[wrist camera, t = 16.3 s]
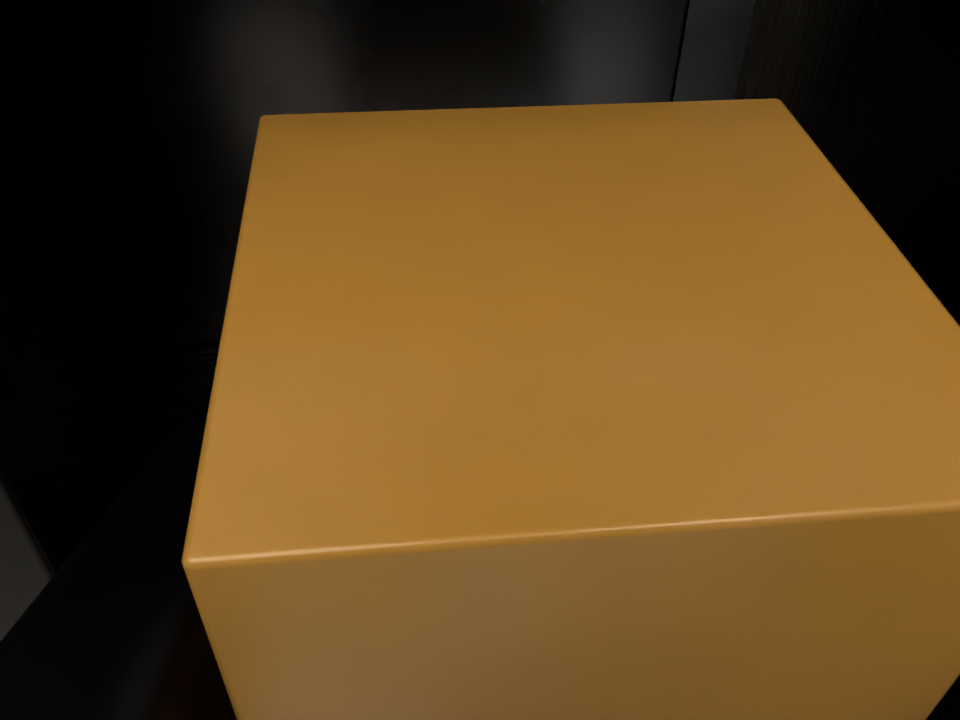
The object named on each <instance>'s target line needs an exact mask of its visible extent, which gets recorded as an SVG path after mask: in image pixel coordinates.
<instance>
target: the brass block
mask: <svg viewBox="0 0 960 720" xmlns="http://www.w3.org/2000/svg"><path fill="white" fill-rule="evenodd" d="M181 562H182V565H183V568H184V571H185V573H186V576H187V579H188V582H189V585H190V588H191V590H192V593H193V596H194V599H195V602H196V605H197V607H198V610H199V613H200V616H201V619H202V622H203V624H204V627H205V630H206V633H207V636H208V639H209V641H210V644H211V647H212V650H213V653H214V656H215V658H216V661H217V664H218V667H219V670H220V673H221V675H222V678H223V681H224V684H225V687H226V690H227V692H228V695H229V698H230V701H231V704H232V707H233V709H234V712H235V715H236V718H237V720H926V719H927V718H928V717H929V715H930V714H931V713H932V711H933V710H934V709H935V707H936V706H937V705H938V703H939V702H940V701H941V699H942V698H943V697H944V695H945V694H946V693H947V691H948V690H949V688H950V687H951V686H952V684H953V683H954V682H955V680H956V679H957V678H958V676H959V675H960V326H959V325H958V323H957V322H956V321H955V320H954V318H953V317H952V316H951V315H950V313H949V312H948V311H947V310H946V308H945V307H944V306H943V305H942V303H941V302H940V301H939V299H938V298H937V297H936V296H935V294H934V293H933V292H932V291H931V289H930V288H929V287H928V286H927V284H926V283H925V282H924V281H923V279H922V278H921V277H920V275H919V274H918V273H917V272H916V270H915V269H914V268H913V267H912V265H911V264H910V263H909V262H908V260H907V259H906V258H905V257H904V255H903V254H902V253H901V251H900V250H899V249H898V248H897V246H896V245H895V244H894V243H893V241H892V240H891V239H890V238H889V236H888V235H887V234H886V233H885V231H884V230H883V229H882V227H881V226H880V225H879V224H878V222H877V221H876V220H875V219H874V217H873V216H872V215H871V214H870V212H869V211H868V210H867V209H866V207H865V206H864V205H863V203H862V202H861V201H860V200H859V198H858V197H857V196H856V195H855V193H854V192H853V191H852V190H851V188H850V187H849V186H848V185H847V183H846V182H845V181H844V179H843V178H842V177H841V176H840V174H839V173H838V172H837V171H836V169H835V168H834V167H833V166H832V164H831V163H830V162H829V161H828V159H827V158H826V157H825V155H824V154H823V153H822V152H821V150H820V149H819V148H818V147H817V145H816V144H815V143H814V142H813V140H812V139H811V138H810V137H809V135H808V134H807V133H806V131H805V130H804V129H803V128H802V126H801V125H800V124H799V123H798V121H797V120H796V119H795V118H794V116H793V115H792V114H791V113H790V111H789V110H788V109H787V107H786V106H785V105H784V104H783V102H782V101H781V100H779V99H776V98H769V99H738V100H707V101H676V102H645V103H615V104H584V105H553V106H522V107H491V108H460V109H429V110H398V111H367V112H336V113H306V114H275V115H263V116H261V117H260V120H259V124H258V129H257V135H256V141H255V146H254V152H253V158H252V163H251V169H250V175H249V181H248V186H247V192H246V198H245V203H244V209H243V215H242V220H241V226H240V232H239V237H238V243H237V249H236V254H235V260H234V266H233V271H232V277H231V283H230V288H229V294H228V300H227V305H226V311H225V317H224V322H223V328H222V334H221V339H220V345H219V351H218V356H217V362H216V368H215V373H214V379H213V385H212V391H211V396H210V402H209V408H208V413H207V419H206V425H205V430H204V436H203V442H202V447H201V453H200V459H199V464H198V470H197V476H196V481H195V487H194V493H193V498H192V504H191V510H190V515H189V521H188V527H187V532H186V538H185V544H184V549H183V555H182V561H181Z"/></svg>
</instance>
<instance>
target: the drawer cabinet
mask: <svg viewBox="0 0 960 720" xmlns="http://www.w3.org/2000/svg"><path fill="white" fill-rule="evenodd" d="M85 537H86V533H85V531H84V528H83V526H82V524H81V522H80V519H79V517H78V515H77V513H76V511H75V508H74V506H73V504H72V502H71V500H70V497H69V495H68V493H67V491H66V489H65V486H64V484H63V482H62V480H61V478H60V475H59V473H58V471H57V469H56V467H55V464H54V462H53V460H52V458H51V456H50V453H49V451H48V449H47V447H46V444H45V442H44V440H43V438H42V436H41V433H40V431H39V429H38V427H37V425H36V422H35V420H34V418H33V416H32V414H31V411H30V409H29V407H28V405H27V403H26V400H25V398H24V396H23V394H22V392H21V389H20V387H19V385H18V383H17V381H16V378H15V376H14V374H13V372H12V369H11V367H10V365H9V363H8V361H7V358H6V356H5V354H4V352H3V350H2V347H1V345H0V641H1V640H2V639H3V638H4V636H5V635H6V634H7V633H8V631H9V630H10V629H11V628H12V626H13V625H14V624H15V623H16V622H17V620H18V619H19V618H20V617H21V615H22V614H23V613H24V612H25V610H26V609H27V608H28V607H29V606H30V604H31V603H32V602H33V601H34V599H35V598H36V597H37V596H38V594H39V593H40V592H41V591H42V590H43V588H44V587H45V586H46V585H47V583H48V582H49V581H50V580H51V578H52V577H53V576H54V575H55V574H56V572H57V571H58V570H59V569H60V567H61V566H62V565H63V564H64V562H65V561H66V560H67V559H68V558H69V556H70V555H71V554H72V553H73V551H74V550H75V549H76V548H77V546H78V545H79V544H80V543H81V542H82V540H83V539H84V538H85Z"/></svg>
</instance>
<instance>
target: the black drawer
mask: <svg viewBox="0 0 960 720" xmlns="http://www.w3.org/2000/svg"><path fill="white" fill-rule="evenodd" d="M689 5H690V0H0V345H1V347H2V350H3V352H4V354H5V356H6V358H7V361H8V363H9V365H10V367H11V369H12V372H13V374H14V376H15V378H16V381H17V383H18V385H19V387H20V389H21V392H22V394H23V396H24V398H25V400H26V403H27V405H28V407H29V409H30V411H31V414H32V416H33V418H34V420H35V422H36V425H37V427H38V429H39V431H40V433H41V436H42V438H43V440H44V442H45V444H46V447H47V449H48V451H49V453H50V456H51V458H52V460H53V462H54V464H55V467H56V469H57V471H58V473H59V475H60V478H61V480H62V482H63V484H64V486H65V489H66V491H67V493H68V495H69V497H70V500H71V502H72V504H73V506H74V508H75V511H76V513H77V515H78V517H79V519H80V522H81V524H82V526H83V528H84V531H85V533H86V535H87V534H88V533H89V532H90V530H91V529H92V528H93V527H94V526H95V524H96V523H97V522H98V521H99V519H100V518H101V517H102V516H103V514H104V513H105V512H106V511H107V509H108V508H109V507H110V506H111V505H112V503H113V502H114V501H115V500H116V498H117V497H118V496H119V495H120V493H121V492H122V491H123V490H124V489H125V487H126V486H127V485H128V484H129V482H130V481H131V480H132V479H133V477H134V476H135V475H136V474H137V473H138V471H139V470H140V469H141V468H142V466H143V465H144V464H145V463H146V461H147V460H148V459H149V458H150V457H151V455H152V454H153V453H154V452H155V450H156V449H157V448H158V447H159V445H160V444H161V443H162V442H163V441H164V439H165V438H166V437H167V436H168V434H169V433H170V432H171V431H172V429H173V428H174V427H175V426H176V425H177V423H178V422H179V421H180V420H181V418H182V417H183V416H184V415H185V413H186V412H187V411H188V410H189V409H190V407H191V406H192V405H193V404H194V402H195V401H196V400H197V399H198V397H199V396H200V395H201V394H202V392H203V391H204V390H205V389H206V388H207V386H208V385H209V384H210V383H211V381H212V380H213V379H214V373H215V368H216V362H217V356H218V351H219V345H220V339H221V334H222V328H223V322H224V317H225V311H226V305H227V300H228V294H229V288H230V283H231V277H232V271H233V266H234V260H235V254H236V249H237V243H238V237H239V232H240V226H241V220H242V215H243V209H244V203H245V198H246V192H247V186H248V181H249V175H250V169H251V163H252V158H253V152H254V146H255V141H256V135H257V129H258V124H259V120H260V117H261V116H263V115H275V114H306V113H336V112H367V111H398V110H429V109H460V108H491V107H522V106H553V105H584V104H615V103H645V102H673V98H674V92H675V86H676V80H677V75H678V69H679V63H680V57H681V51H682V46H683V40H684V34H685V28H686V22H687V17H688V11H689ZM769 98H776V99H779V100H781V101H782V102H783V104H784V105H785V106H786V107H787V109H788V110H789V111H790V113H791V114H792V115H793V116H794V118H795V119H796V120H797V121H798V123H799V124H800V125H801V126H802V128H803V129H804V130H805V131H806V133H807V134H808V135H809V137H810V138H811V139H812V140H813V142H814V143H815V144H816V145H817V147H818V148H819V149H820V150H821V152H822V153H823V154H824V155H825V157H826V158H827V159H828V161H829V162H830V163H831V164H832V166H833V167H834V168H835V169H836V171H837V172H838V173H839V174H840V176H841V177H842V178H843V179H844V181H845V182H846V183H847V185H848V186H849V187H850V188H851V190H852V191H853V192H854V193H855V195H856V196H857V197H858V198H859V200H860V201H861V202H862V203H863V205H864V206H865V207H866V209H867V210H868V211H869V212H870V214H871V215H872V216H873V217H874V219H875V220H876V221H877V222H878V224H879V225H880V226H881V227H882V229H883V230H884V231H885V233H886V234H887V235H888V236H889V238H890V239H891V240H892V241H893V243H894V244H895V245H896V246H897V248H898V249H899V250H900V251H901V253H902V254H903V255H904V257H905V258H906V259H907V260H908V262H909V263H910V264H911V265H912V267H913V268H914V269H915V270H916V272H917V273H918V274H919V275H920V277H921V278H922V279H923V281H924V282H925V283H926V284H927V286H928V287H929V288H930V289H931V291H932V292H933V293H934V294H935V296H936V297H937V298H938V299H939V301H940V302H941V303H942V305H943V306H944V307H945V308H946V310H947V311H948V312H949V313H950V315H951V316H952V317H953V318H954V320H955V321H956V322H957V323H958V325H959V326H960V0H756V3H755V7H754V12H753V16H752V21H751V25H750V30H749V35H748V39H747V44H746V48H745V53H744V57H743V62H742V66H741V71H740V75H739V80H738V84H737V89H736V93H735V98H734V100H738V99H769Z"/></svg>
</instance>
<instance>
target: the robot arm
mask: <svg viewBox="0 0 960 720" xmlns="http://www.w3.org/2000/svg"><path fill="white" fill-rule="evenodd" d="M212 385H213V380H212V381H211V383H210V384H209V385H208V386H207V388H206V389H205V390H204V391H203V392H202V394H201V395H200V396H199V397H198V399H197V400H196V401H195V402H194V404H193V405H192V406H191V407H190V409H189V410H188V411H187V412H186V413H185V415H184V416H183V417H182V418H181V420H180V421H179V422H178V423H177V425H176V426H175V427H174V428H173V429H172V431H171V432H170V433H169V434H168V436H167V437H166V438H165V439H164V441H163V442H162V443H161V444H160V445H159V447H158V448H157V449H156V450H155V452H154V453H153V454H152V455H151V457H150V458H149V459H148V460H147V461H146V463H145V464H144V465H143V466H142V468H141V469H140V470H139V471H138V473H137V474H136V475H135V476H134V477H133V479H132V480H131V481H130V482H129V484H128V485H127V486H126V487H125V489H124V490H123V491H122V492H121V493H120V495H119V496H118V497H117V498H116V500H115V501H114V502H113V503H112V505H111V506H110V507H109V508H108V509H107V511H106V512H105V513H104V514H103V516H102V517H101V518H100V519H99V521H98V522H97V523H96V524H95V526H94V527H93V528H92V529H91V530H90V532H89V533H88V534H87V535H86V537H85V538H84V539H83V540H82V542H81V543H80V544H79V545H78V546H77V548H76V549H75V550H74V551H73V553H72V554H71V555H70V556H69V558H68V559H67V560H66V561H65V562H64V564H63V565H62V566H61V567H60V569H59V570H58V571H57V572H56V574H55V575H54V576H53V577H52V578H51V580H50V581H49V582H48V583H47V585H46V586H45V587H44V588H43V590H42V591H41V592H40V593H39V594H38V596H37V597H36V598H35V599H34V601H33V602H32V603H31V604H30V606H29V607H28V608H27V609H26V610H25V612H24V613H23V614H22V615H21V617H20V618H19V619H18V620H17V622H16V623H15V624H14V625H13V626H12V628H11V629H10V630H9V631H8V633H7V634H6V635H5V636H4V638H3V639H2V640H1V641H0V720H237V718H236V715H235V712H234V709H233V707H232V704H231V701H230V698H229V695H228V692H227V690H226V687H225V684H224V681H223V678H222V675H221V673H220V670H219V667H218V664H217V661H216V658H215V656H214V653H213V650H212V647H211V644H210V641H209V639H208V636H207V633H206V630H205V627H204V624H203V622H202V619H201V616H200V613H199V610H198V607H197V605H196V602H195V599H194V596H193V593H192V590H191V588H190V585H189V582H188V579H187V576H186V573H185V571H184V568H183V565H182V562H181V561H182V555H183V549H184V544H185V538H186V532H187V527H188V521H189V515H190V510H191V504H192V498H193V493H194V487H195V481H196V476H197V470H198V464H199V459H200V453H201V447H202V442H203V436H204V430H205V425H206V419H207V413H208V408H209V402H210V396H211V391H212ZM926 720H960V675H959V676H958V678H957V679H956V680H955V682H954V683H953V684H952V686H951V687H950V688H949V690H948V691H947V693H946V694H945V695H944V697H943V698H942V699H941V701H940V702H939V703H938V705H937V706H936V707H935V709H934V710H933V711H932V713H931V714H930V715H929V717H928V718H927V719H926Z"/></svg>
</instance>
